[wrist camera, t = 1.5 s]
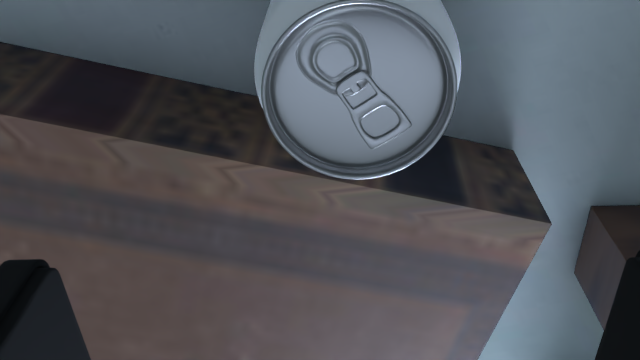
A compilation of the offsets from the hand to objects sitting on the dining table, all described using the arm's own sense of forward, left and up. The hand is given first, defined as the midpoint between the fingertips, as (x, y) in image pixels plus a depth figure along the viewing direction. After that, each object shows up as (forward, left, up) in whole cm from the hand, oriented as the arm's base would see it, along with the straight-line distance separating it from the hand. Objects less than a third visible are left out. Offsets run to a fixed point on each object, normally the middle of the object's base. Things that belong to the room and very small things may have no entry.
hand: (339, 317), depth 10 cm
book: (+7, +17, -20) cm, 27 cm away
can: (-1, 0, -20) cm, 20 cm away
